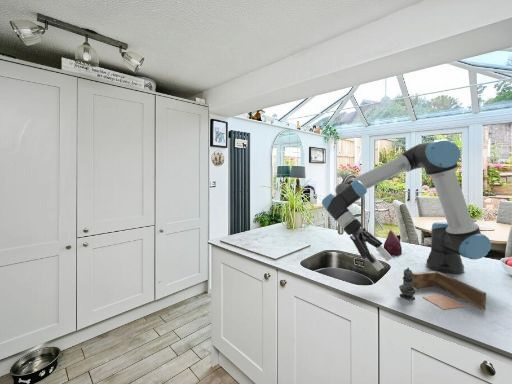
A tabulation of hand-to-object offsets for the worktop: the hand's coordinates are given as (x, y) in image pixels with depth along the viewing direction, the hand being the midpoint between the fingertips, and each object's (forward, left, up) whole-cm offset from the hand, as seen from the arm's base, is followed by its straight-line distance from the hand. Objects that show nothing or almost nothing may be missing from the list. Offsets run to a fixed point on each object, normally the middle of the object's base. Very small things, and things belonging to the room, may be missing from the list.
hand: (385, 264), depth 102 cm
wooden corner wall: (-19, +9, -11) cm, 24 cm away
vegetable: (-36, -42, -12) cm, 57 cm away
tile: (-15, +12, -11) cm, 23 cm away
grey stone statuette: (-5, +6, -12) cm, 14 cm away
